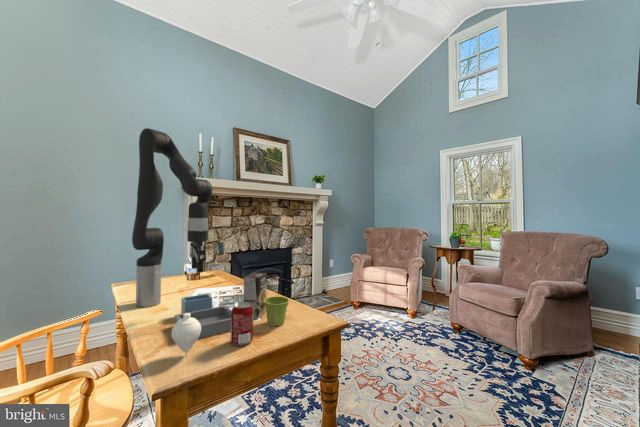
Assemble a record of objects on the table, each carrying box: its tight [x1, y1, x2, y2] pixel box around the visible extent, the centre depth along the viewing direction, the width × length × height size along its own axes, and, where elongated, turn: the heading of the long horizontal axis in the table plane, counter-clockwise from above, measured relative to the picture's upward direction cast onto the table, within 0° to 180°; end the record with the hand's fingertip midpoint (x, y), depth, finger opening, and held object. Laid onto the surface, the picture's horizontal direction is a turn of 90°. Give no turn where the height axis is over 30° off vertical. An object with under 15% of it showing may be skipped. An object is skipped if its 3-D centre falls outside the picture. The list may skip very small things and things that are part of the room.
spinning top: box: [171, 313, 201, 357], centre depth 79 cm, size 8×8×12 cm
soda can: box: [230, 301, 254, 347], centre depth 88 cm, size 7×7×12 cm
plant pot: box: [264, 295, 290, 327], centre depth 103 cm, size 9×9×9 cm
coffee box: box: [242, 272, 268, 321], centre depth 111 cm, size 9×6×16 cm
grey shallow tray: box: [174, 305, 232, 340], centre depth 98 cm, size 15×18×4 cm
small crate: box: [180, 293, 213, 314], centre depth 110 cm, size 6×10×7 cm, turn 127°
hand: (197, 270), depth 110 cm, fingers open, 8 cm apart
